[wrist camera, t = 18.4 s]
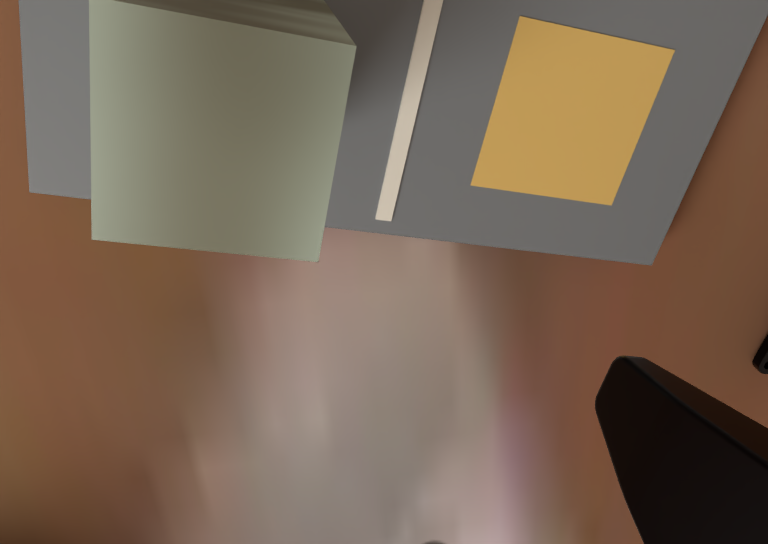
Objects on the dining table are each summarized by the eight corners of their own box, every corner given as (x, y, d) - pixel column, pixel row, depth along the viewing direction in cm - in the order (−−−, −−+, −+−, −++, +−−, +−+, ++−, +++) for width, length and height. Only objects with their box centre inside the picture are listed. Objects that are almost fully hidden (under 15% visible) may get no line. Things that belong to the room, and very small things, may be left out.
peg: (320, -6, 16) (356, 46, 10) (298, 144, 18) (318, 262, 12) (155, -40, 15) (88, -4, 9) (150, 122, 17) (91, 239, 11)
